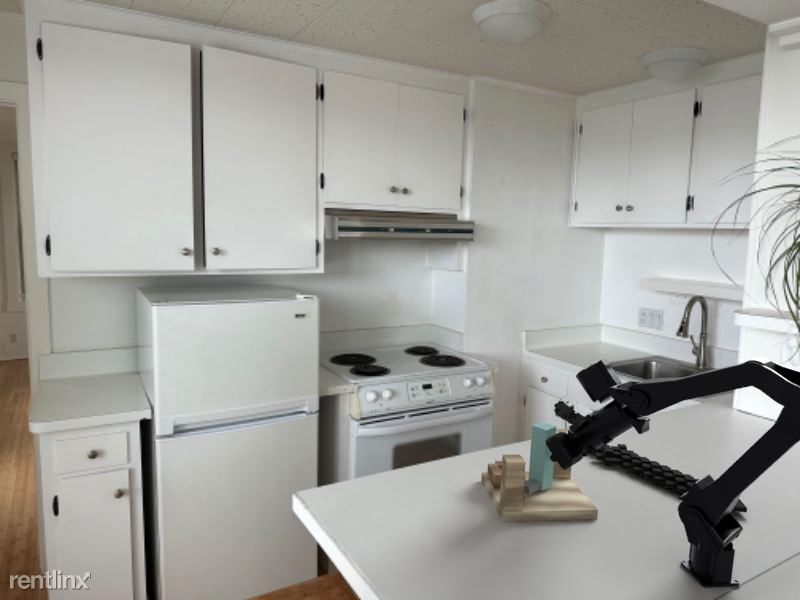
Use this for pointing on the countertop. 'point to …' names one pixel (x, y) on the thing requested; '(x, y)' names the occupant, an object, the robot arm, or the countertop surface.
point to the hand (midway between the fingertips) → (551, 459)
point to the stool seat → (535, 493)
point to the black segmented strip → (650, 469)
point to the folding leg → (540, 458)
